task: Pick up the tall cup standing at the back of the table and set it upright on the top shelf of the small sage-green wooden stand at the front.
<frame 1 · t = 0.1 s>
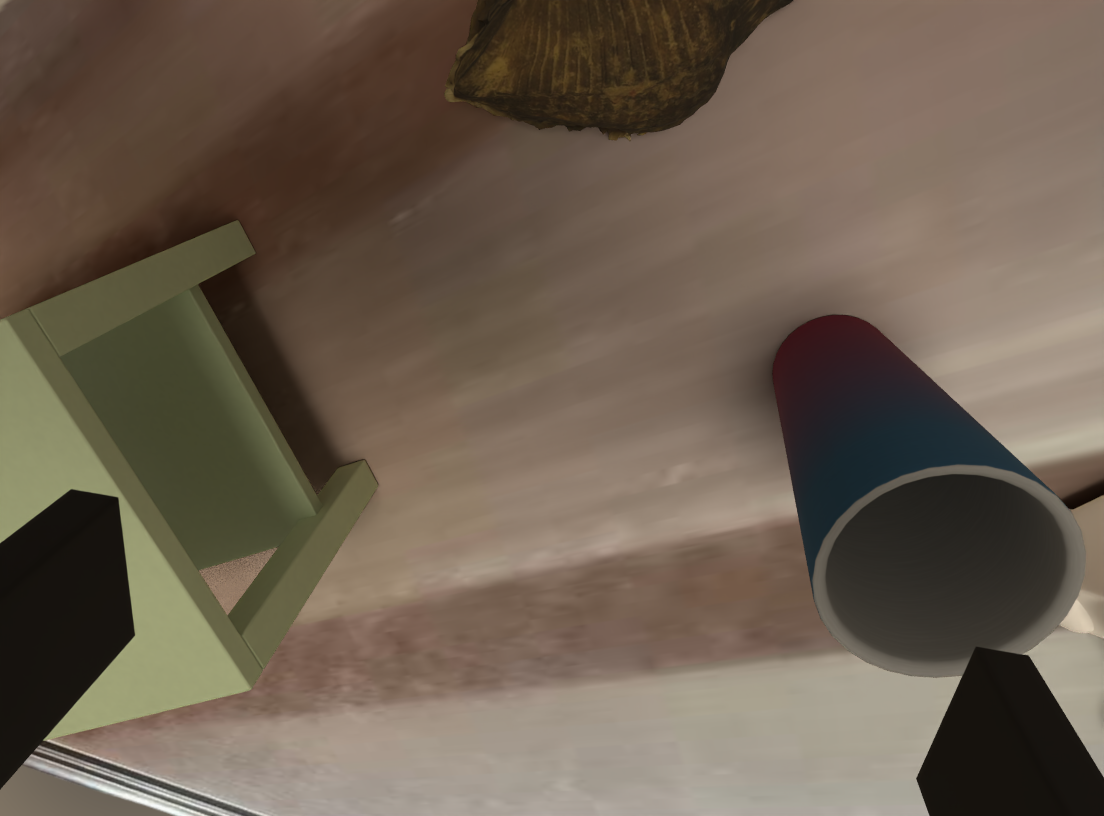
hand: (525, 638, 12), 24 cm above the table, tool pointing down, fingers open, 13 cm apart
cup: (830, 368, 35), on the table
stand: (208, 398, 39), on the table
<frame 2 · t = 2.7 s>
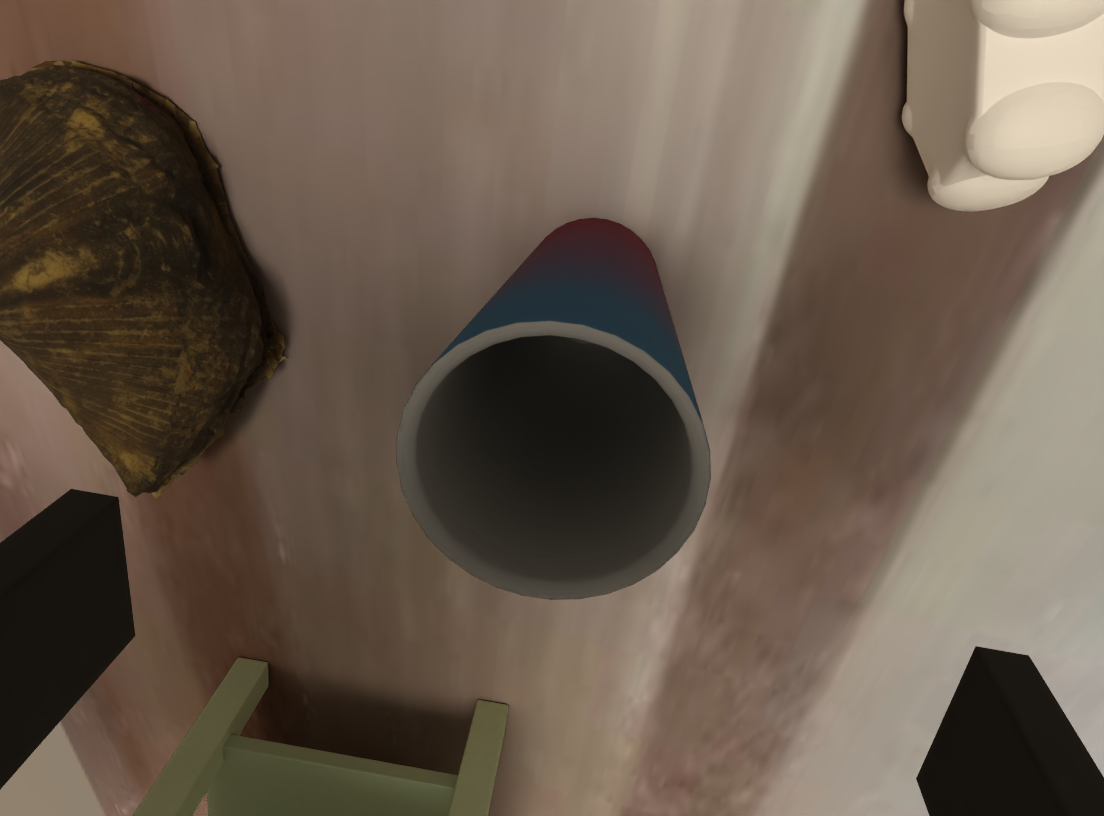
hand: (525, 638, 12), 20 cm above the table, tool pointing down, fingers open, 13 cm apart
cup: (592, 282, 31), on the table
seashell: (172, 267, 33), on the table
stand: (369, 764, 43), on the table
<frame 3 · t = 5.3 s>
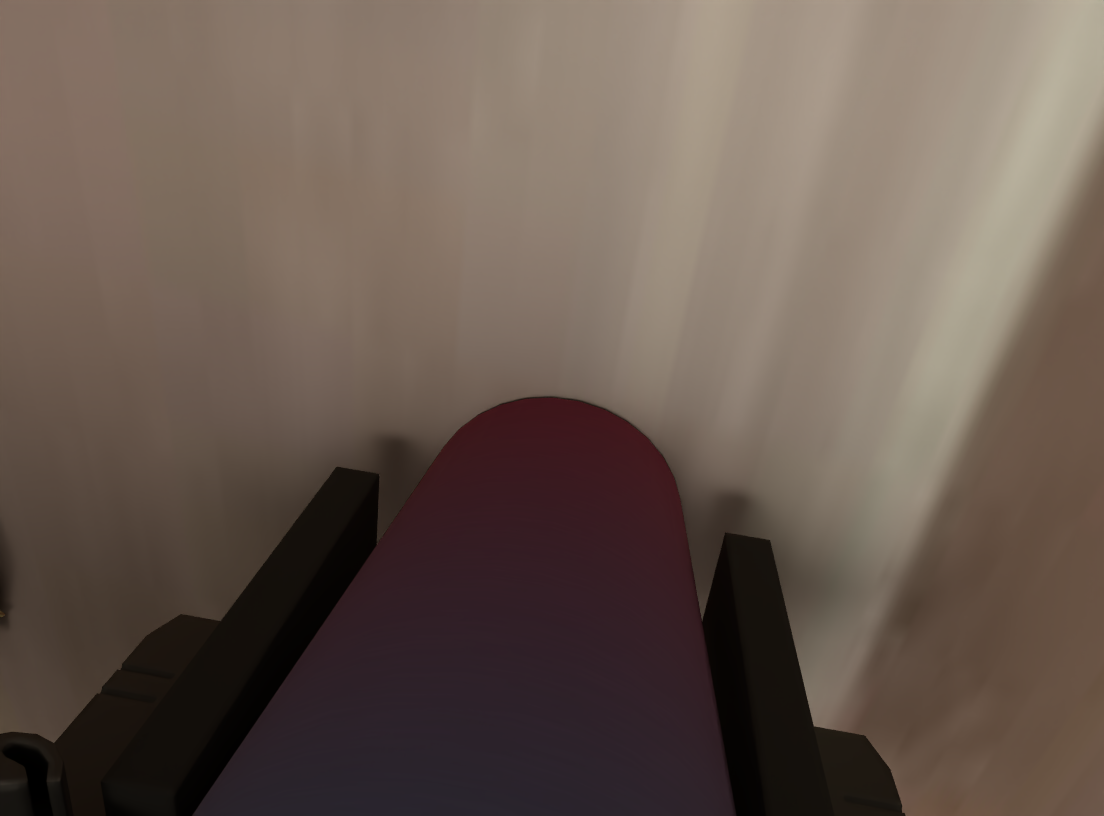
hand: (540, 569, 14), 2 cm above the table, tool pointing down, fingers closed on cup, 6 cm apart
cup: (553, 507, 16), on the table, touching gripper
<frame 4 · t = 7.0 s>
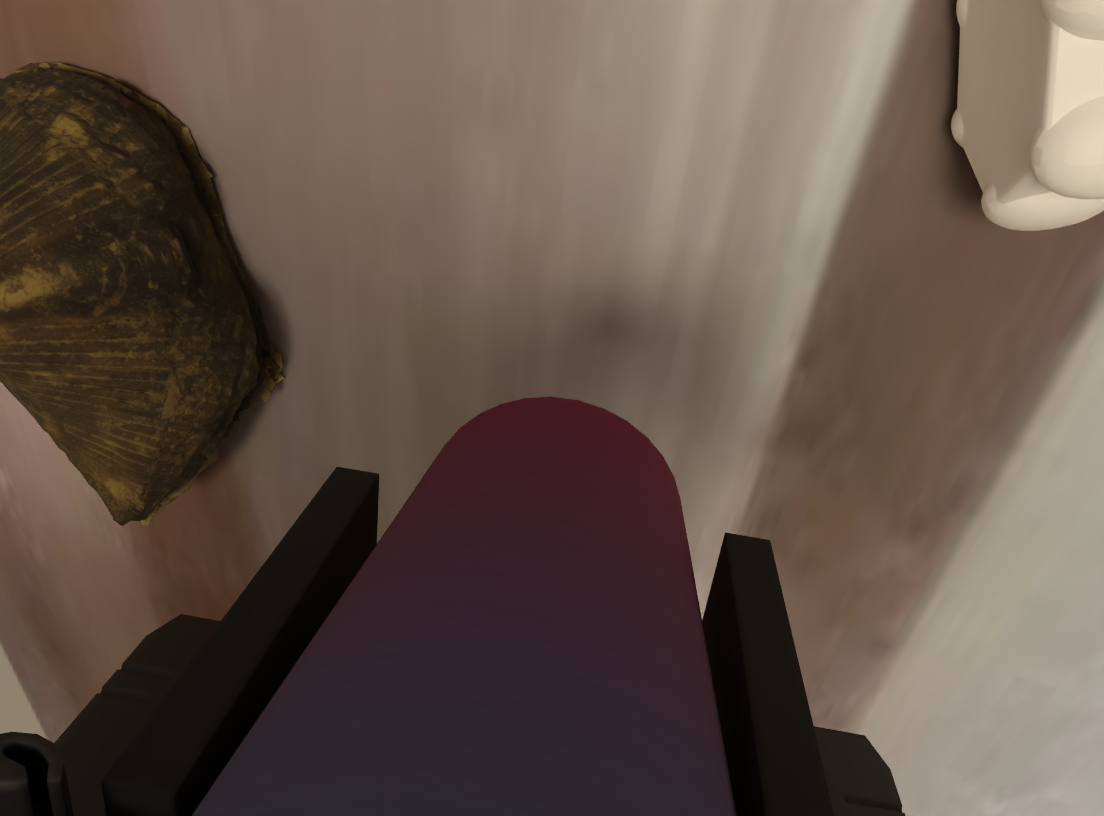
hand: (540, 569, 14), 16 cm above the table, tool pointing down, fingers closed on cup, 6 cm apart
cup: (553, 506, 16), point 14 cm above the table, touching gripper
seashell: (164, 281, 31), on the table
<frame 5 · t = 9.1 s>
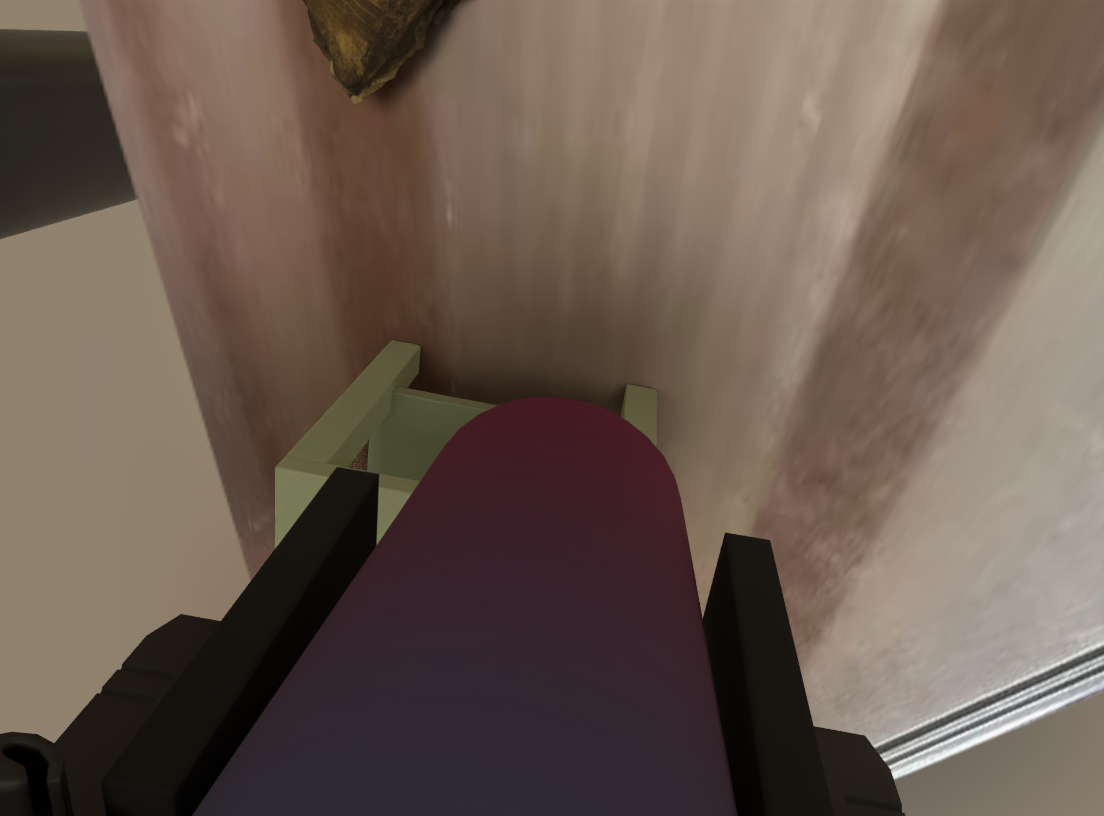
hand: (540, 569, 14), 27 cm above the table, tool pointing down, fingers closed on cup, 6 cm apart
cup: (554, 506, 16), point 24 cm above the table, touching gripper
stand: (508, 464, 44), on the table
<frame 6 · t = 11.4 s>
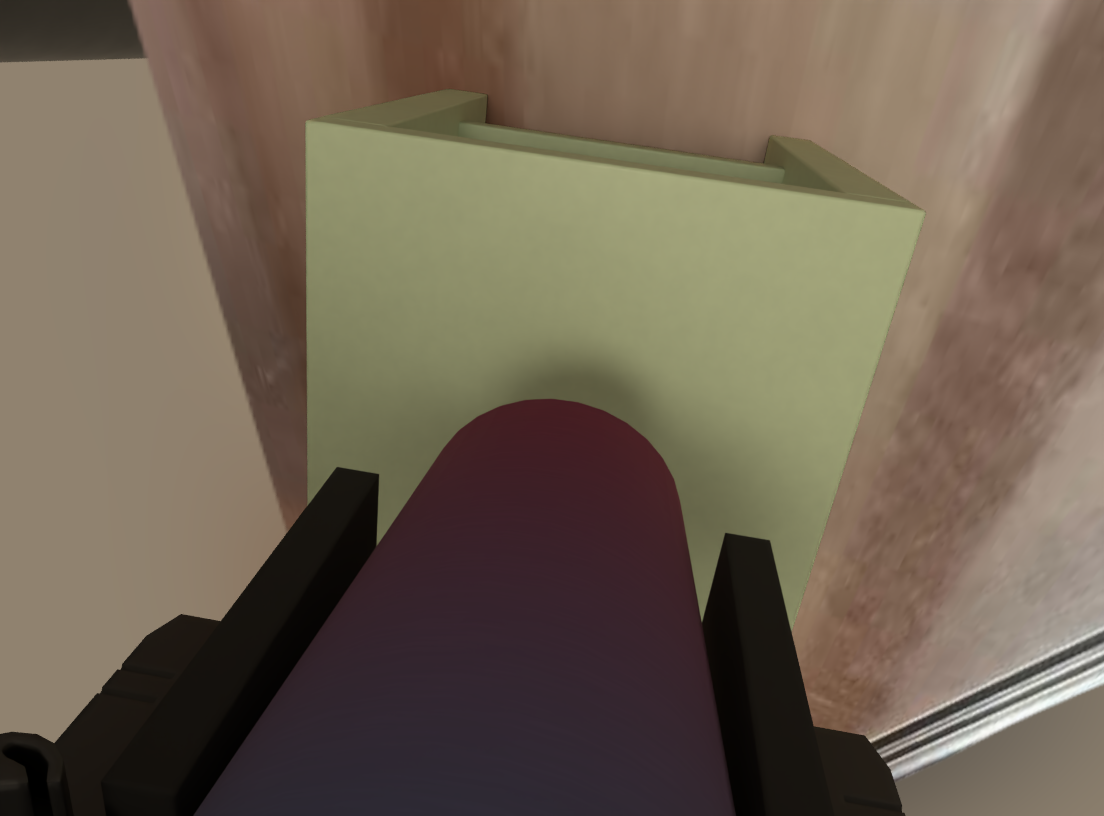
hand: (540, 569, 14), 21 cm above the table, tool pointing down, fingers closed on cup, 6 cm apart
cup: (553, 508, 16), point 19 cm above the table, touching gripper
stand: (603, 267, 33), on the table
when the fingers open (16 cm above the table, at t = 13.0 s): cup stays where it is, resting on stand.
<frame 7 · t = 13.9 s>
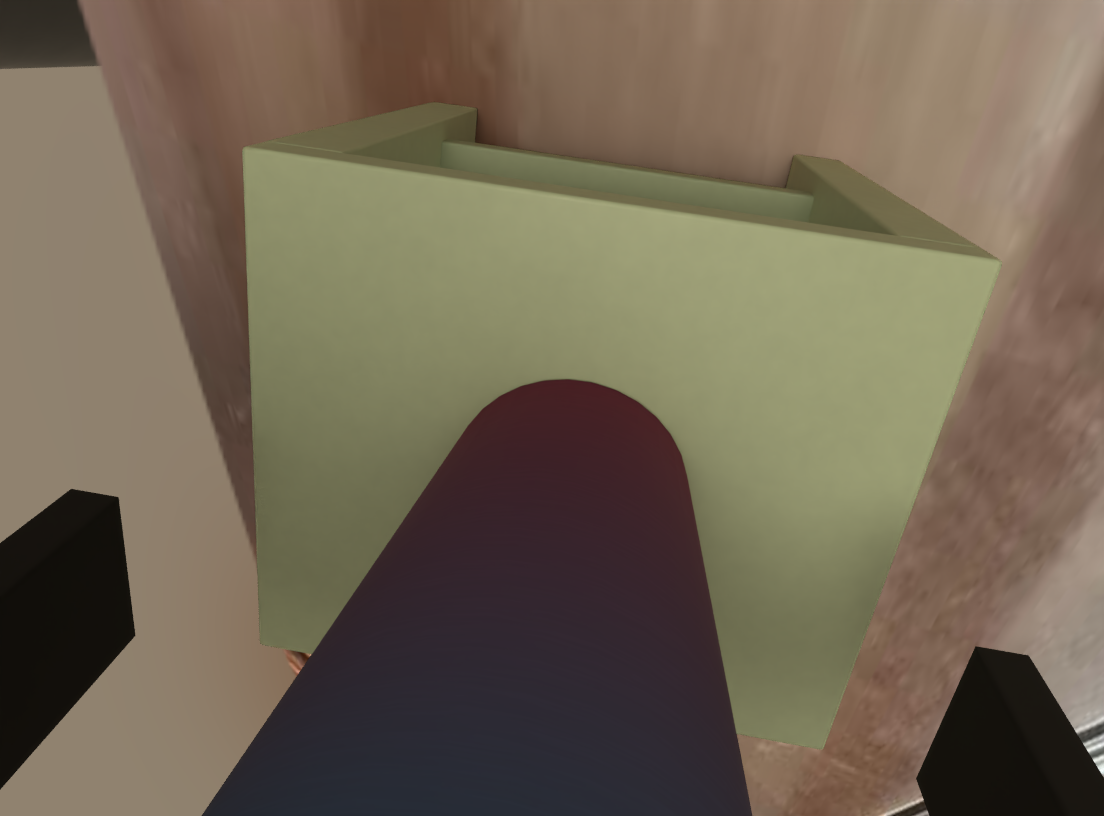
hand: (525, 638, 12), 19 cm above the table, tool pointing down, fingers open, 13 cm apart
cup: (569, 483, 17), point 14 cm above the table, touching stand
stand: (606, 299, 30), on the table
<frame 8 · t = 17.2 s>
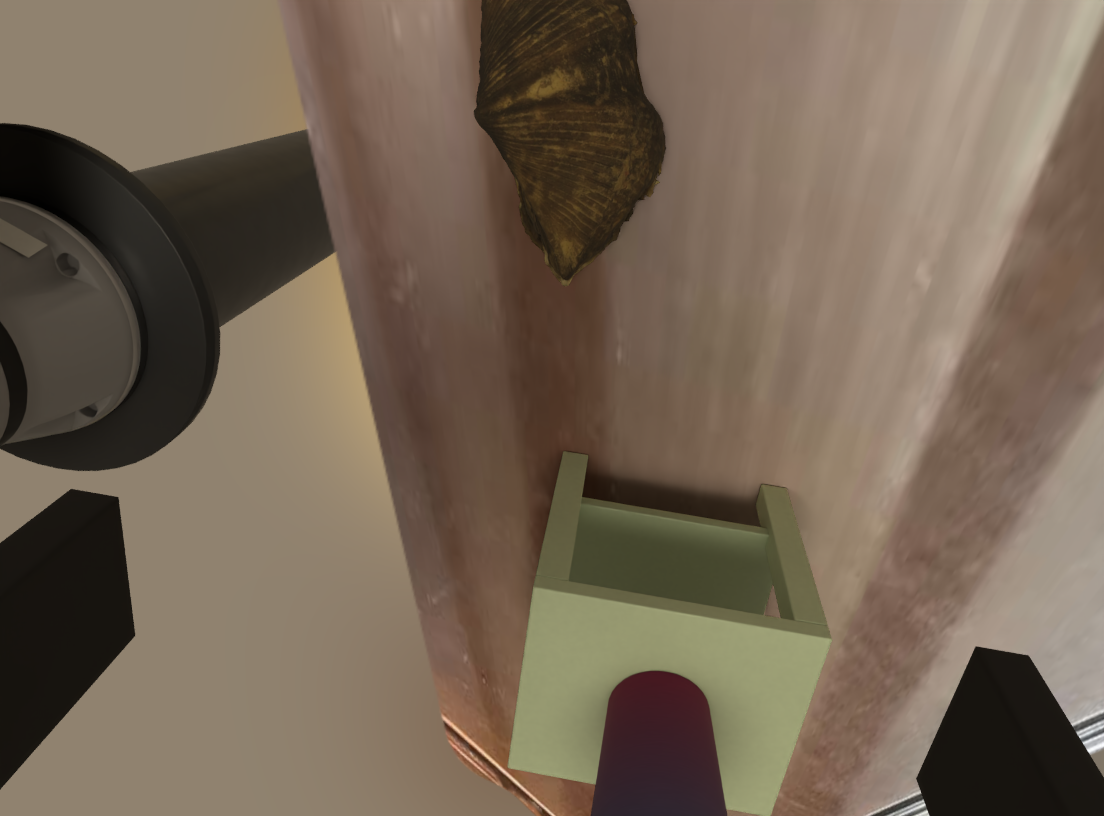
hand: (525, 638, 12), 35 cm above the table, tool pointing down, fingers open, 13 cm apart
cup: (658, 706, 40), point 14 cm above the table, touching stand
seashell: (577, 108, 42), on the table
stand: (657, 548, 52), on the table
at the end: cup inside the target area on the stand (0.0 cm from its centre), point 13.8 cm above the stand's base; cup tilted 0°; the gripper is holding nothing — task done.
